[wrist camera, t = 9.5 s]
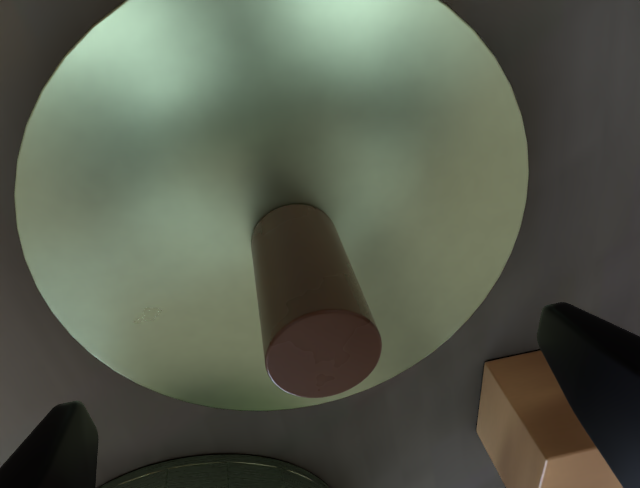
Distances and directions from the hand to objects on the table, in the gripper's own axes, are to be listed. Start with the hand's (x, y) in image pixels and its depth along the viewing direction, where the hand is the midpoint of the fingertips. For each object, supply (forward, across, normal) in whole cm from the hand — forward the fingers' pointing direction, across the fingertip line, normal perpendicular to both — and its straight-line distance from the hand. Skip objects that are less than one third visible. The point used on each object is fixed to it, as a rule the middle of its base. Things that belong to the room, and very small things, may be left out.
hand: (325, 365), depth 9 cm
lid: (+5, 0, 0) cm, 5 cm away
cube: (+6, -9, +10) cm, 15 cm away
